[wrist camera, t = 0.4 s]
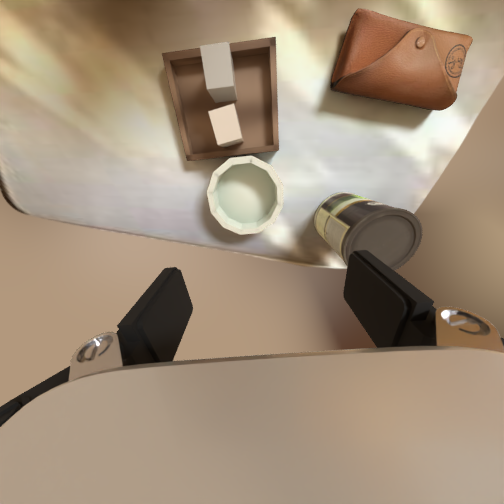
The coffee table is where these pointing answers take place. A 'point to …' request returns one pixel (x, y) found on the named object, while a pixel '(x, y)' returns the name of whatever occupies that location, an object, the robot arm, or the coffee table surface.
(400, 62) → the sunglasses case
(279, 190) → the celadon bowl
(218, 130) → the beige brick
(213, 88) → the light grey block
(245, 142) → the walnut tray
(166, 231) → the coffee table surface
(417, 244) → the coffee can
